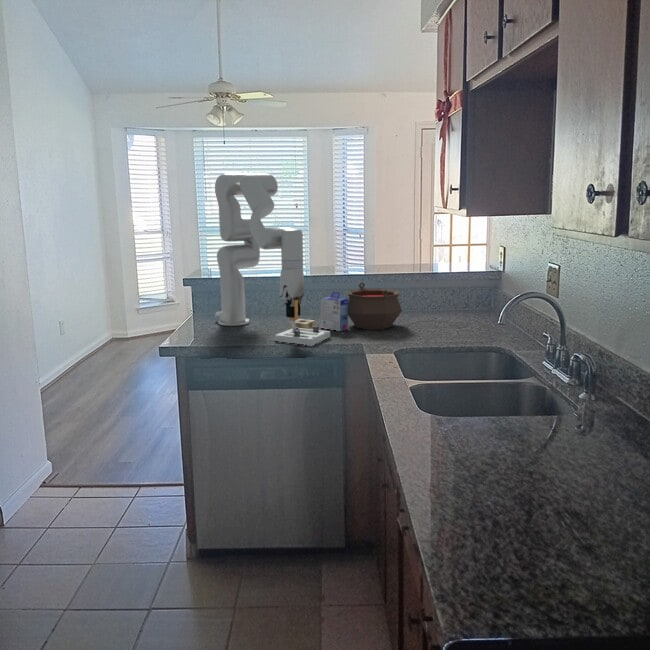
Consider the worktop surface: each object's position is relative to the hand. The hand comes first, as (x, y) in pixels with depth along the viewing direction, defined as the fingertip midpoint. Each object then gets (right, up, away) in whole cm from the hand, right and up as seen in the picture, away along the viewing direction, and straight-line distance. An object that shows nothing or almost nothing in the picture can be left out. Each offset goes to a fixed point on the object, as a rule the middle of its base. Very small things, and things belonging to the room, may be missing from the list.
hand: (293, 315), depth 232 cm
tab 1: (+1, -7, +6) cm, 9 cm away
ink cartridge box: (+15, -5, +23) cm, 28 cm away
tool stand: (+3, -6, +19) cm, 20 cm away
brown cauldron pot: (+30, -4, +28) cm, 41 cm away
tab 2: (+1, -8, +1) cm, 8 cm away
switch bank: (+3, -9, +5) cm, 11 cm away
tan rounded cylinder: (0, -6, +1) cm, 6 cm away
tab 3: (+8, -7, +8) cm, 13 cm away
